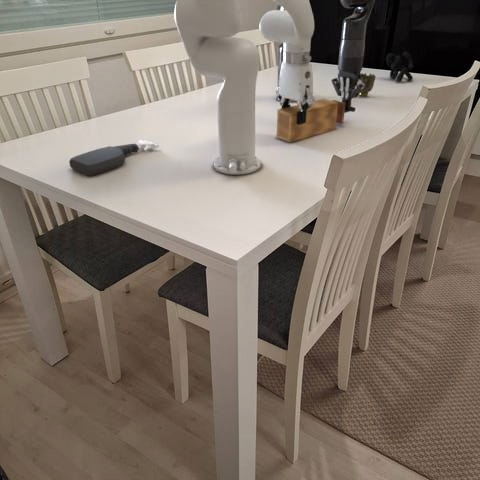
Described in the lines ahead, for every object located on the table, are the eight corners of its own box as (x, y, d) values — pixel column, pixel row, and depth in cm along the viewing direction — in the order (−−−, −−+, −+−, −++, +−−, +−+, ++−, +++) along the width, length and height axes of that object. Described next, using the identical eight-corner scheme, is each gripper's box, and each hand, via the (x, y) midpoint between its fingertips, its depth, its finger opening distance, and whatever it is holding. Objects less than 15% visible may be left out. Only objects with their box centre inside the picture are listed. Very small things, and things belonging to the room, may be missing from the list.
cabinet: (321, 124, 148) (323, 98, 144) (335, 129, 144) (338, 102, 140) (276, 137, 138) (277, 109, 133) (290, 142, 134) (291, 113, 129)
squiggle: (400, 92, 202) (376, 71, 205) (417, 76, 202) (392, 56, 205) (405, 81, 191) (380, 59, 194) (423, 64, 191) (397, 42, 194)
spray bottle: (67, 168, 120) (139, 144, 136) (91, 178, 114) (163, 151, 130) (65, 157, 118) (137, 134, 134) (89, 167, 112) (162, 142, 128)
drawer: (343, 116, 153) (346, 97, 149) (355, 120, 149) (357, 99, 146) (290, 131, 140) (292, 109, 136) (302, 135, 136) (303, 113, 133)
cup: (351, 97, 177) (353, 76, 172) (356, 92, 182) (358, 72, 178) (370, 99, 174) (373, 77, 169) (374, 94, 179) (377, 73, 175)
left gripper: (328, 60, 122) (323, 125, 131) (285, 52, 133) (283, 112, 143) (308, 64, 118) (304, 130, 127) (266, 55, 129) (265, 117, 139)
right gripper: (376, 55, 136) (369, 112, 145) (343, 50, 145) (338, 104, 154) (360, 58, 132) (353, 116, 141) (327, 53, 141) (323, 108, 150)
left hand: (293, 120), depth 135 cm, fingers closed on cabinet, 6 cm apart
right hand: (345, 110), depth 148 cm, fingers closed
